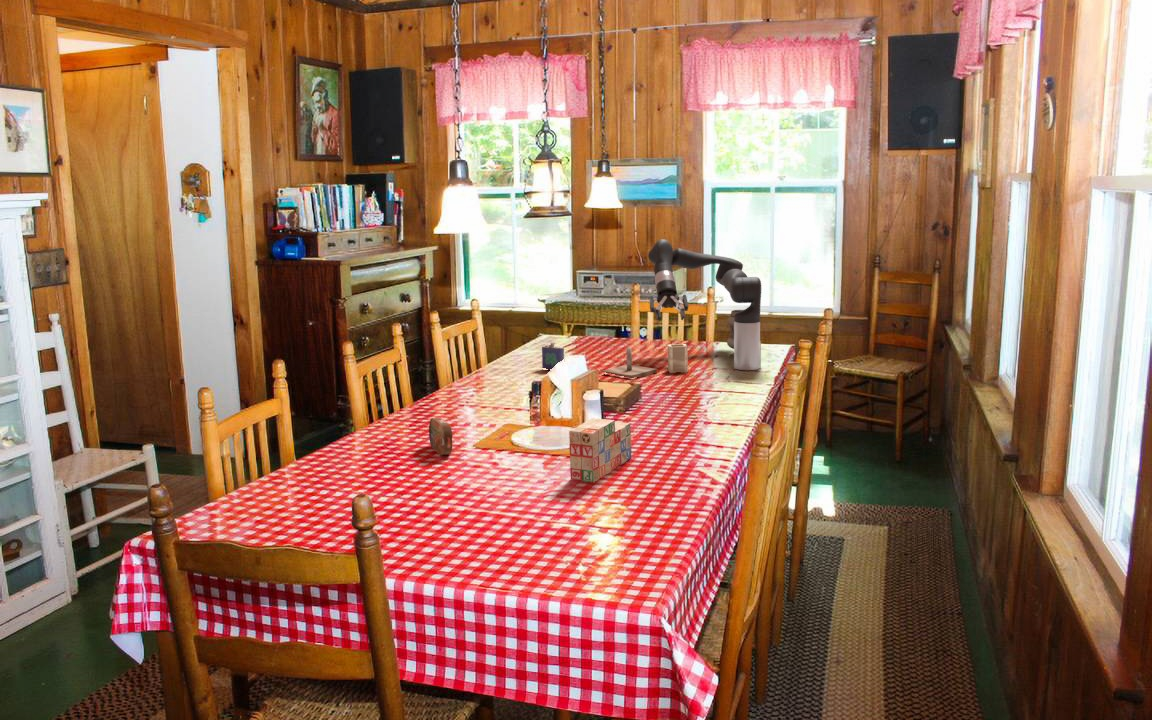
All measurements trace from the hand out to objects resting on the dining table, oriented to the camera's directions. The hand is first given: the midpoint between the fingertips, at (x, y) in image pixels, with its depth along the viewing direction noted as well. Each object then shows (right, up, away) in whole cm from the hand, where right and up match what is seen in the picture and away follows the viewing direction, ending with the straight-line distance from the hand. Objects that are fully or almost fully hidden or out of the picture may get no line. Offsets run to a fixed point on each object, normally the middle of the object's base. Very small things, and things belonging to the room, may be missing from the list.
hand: (671, 319), depth 348 cm
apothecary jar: (+29, -14, +16) cm, 36 cm away
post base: (-16, -20, -10) cm, 28 cm away
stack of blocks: (-29, -42, -119) cm, 129 cm away
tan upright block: (+2, -19, -8) cm, 21 cm away
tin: (-71, -39, -100) cm, 129 cm away
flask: (-44, -19, 0) cm, 48 cm away
